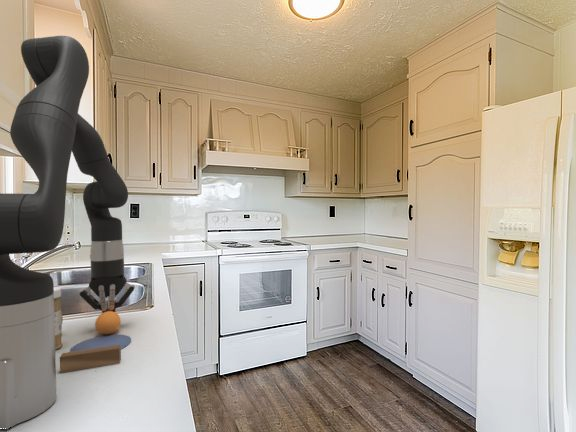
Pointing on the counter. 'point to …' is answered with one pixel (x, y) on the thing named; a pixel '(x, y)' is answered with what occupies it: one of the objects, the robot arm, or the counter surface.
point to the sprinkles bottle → (57, 317)
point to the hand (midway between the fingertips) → (109, 323)
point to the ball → (107, 322)
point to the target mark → (103, 342)
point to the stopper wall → (90, 358)
